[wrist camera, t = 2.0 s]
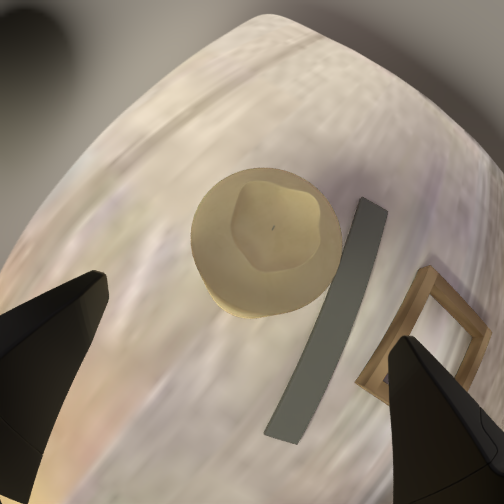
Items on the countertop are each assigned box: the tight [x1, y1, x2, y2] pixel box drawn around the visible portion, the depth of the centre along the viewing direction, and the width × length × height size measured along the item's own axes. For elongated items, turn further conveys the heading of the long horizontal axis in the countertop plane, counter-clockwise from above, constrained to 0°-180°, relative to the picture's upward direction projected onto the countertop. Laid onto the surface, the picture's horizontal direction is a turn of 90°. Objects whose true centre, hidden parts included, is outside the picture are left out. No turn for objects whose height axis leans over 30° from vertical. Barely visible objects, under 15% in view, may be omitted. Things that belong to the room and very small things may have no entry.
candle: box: [191, 168, 342, 318], centre depth 14 cm, size 6×6×10 cm
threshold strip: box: [264, 197, 388, 445], centre depth 18 cm, size 18×2×1 cm, turn 155°
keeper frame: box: [355, 265, 492, 406], centre depth 17 cm, size 10×10×2 cm
